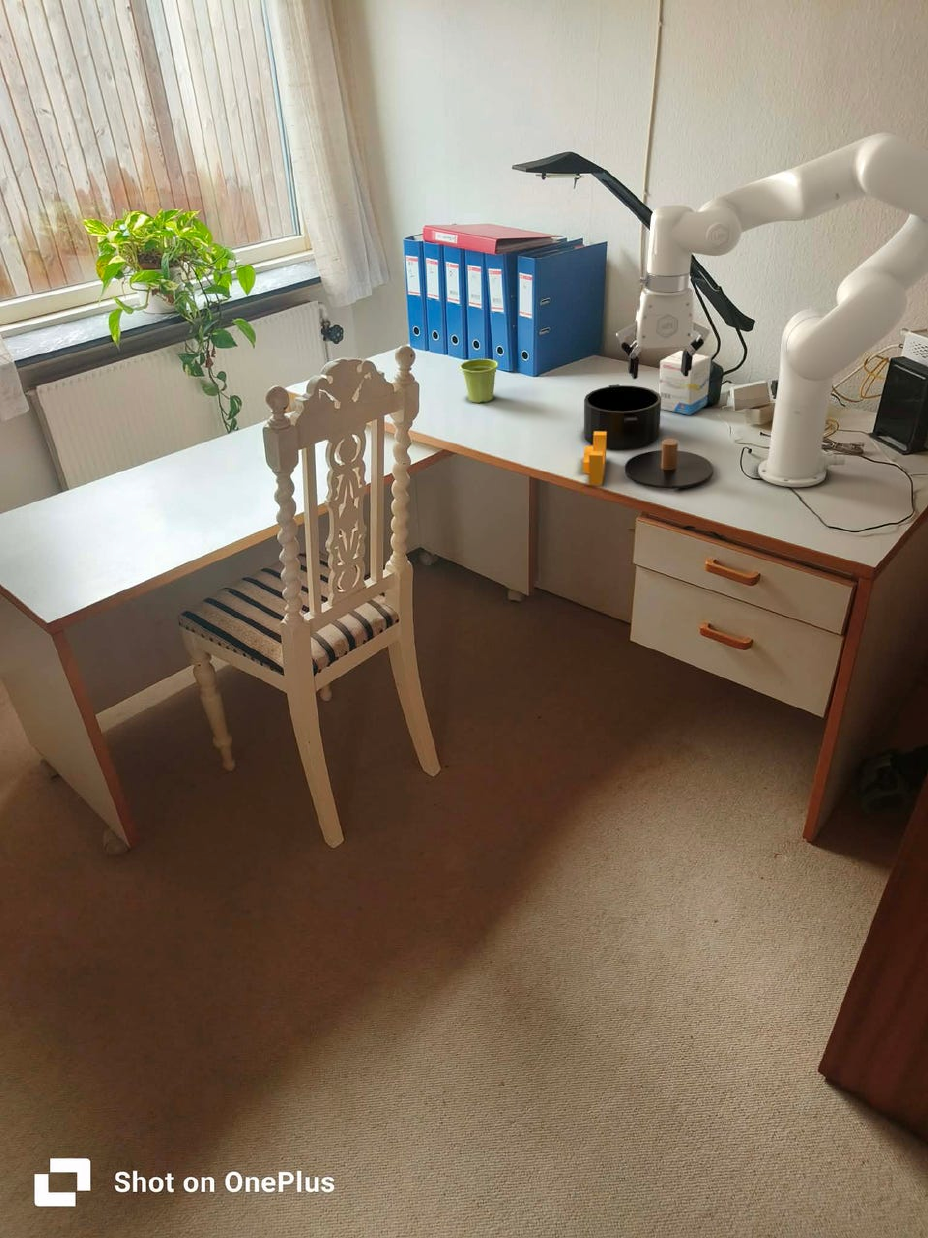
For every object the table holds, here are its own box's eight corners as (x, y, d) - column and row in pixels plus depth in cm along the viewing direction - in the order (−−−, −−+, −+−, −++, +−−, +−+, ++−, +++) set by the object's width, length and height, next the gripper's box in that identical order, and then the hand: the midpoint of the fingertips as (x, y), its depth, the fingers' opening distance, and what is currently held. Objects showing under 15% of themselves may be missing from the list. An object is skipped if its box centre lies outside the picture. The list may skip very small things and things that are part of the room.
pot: (648, 414, 203) (649, 378, 199) (669, 451, 185) (671, 413, 181) (577, 419, 204) (577, 384, 199) (592, 457, 186) (592, 419, 181)
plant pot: (506, 394, 221) (505, 360, 216) (487, 407, 214) (485, 372, 210) (475, 390, 225) (473, 356, 220) (455, 402, 219) (452, 368, 214)
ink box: (708, 404, 206) (712, 355, 199) (689, 415, 201) (693, 365, 194) (676, 397, 211) (679, 349, 204) (657, 408, 206) (659, 359, 199)
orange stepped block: (585, 459, 185) (585, 431, 181) (606, 460, 184) (606, 431, 181) (580, 484, 175) (580, 454, 172) (601, 485, 175) (602, 455, 171)
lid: (700, 452, 184) (702, 421, 180) (722, 487, 170) (726, 455, 166) (617, 458, 184) (618, 428, 181) (633, 494, 170) (635, 463, 166)
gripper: (623, 289, 154) (617, 384, 163) (721, 284, 154) (709, 379, 163) (615, 279, 160) (610, 371, 169) (709, 274, 160) (699, 366, 169)
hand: (659, 375), depth 166 cm, fingers open, 9 cm apart
